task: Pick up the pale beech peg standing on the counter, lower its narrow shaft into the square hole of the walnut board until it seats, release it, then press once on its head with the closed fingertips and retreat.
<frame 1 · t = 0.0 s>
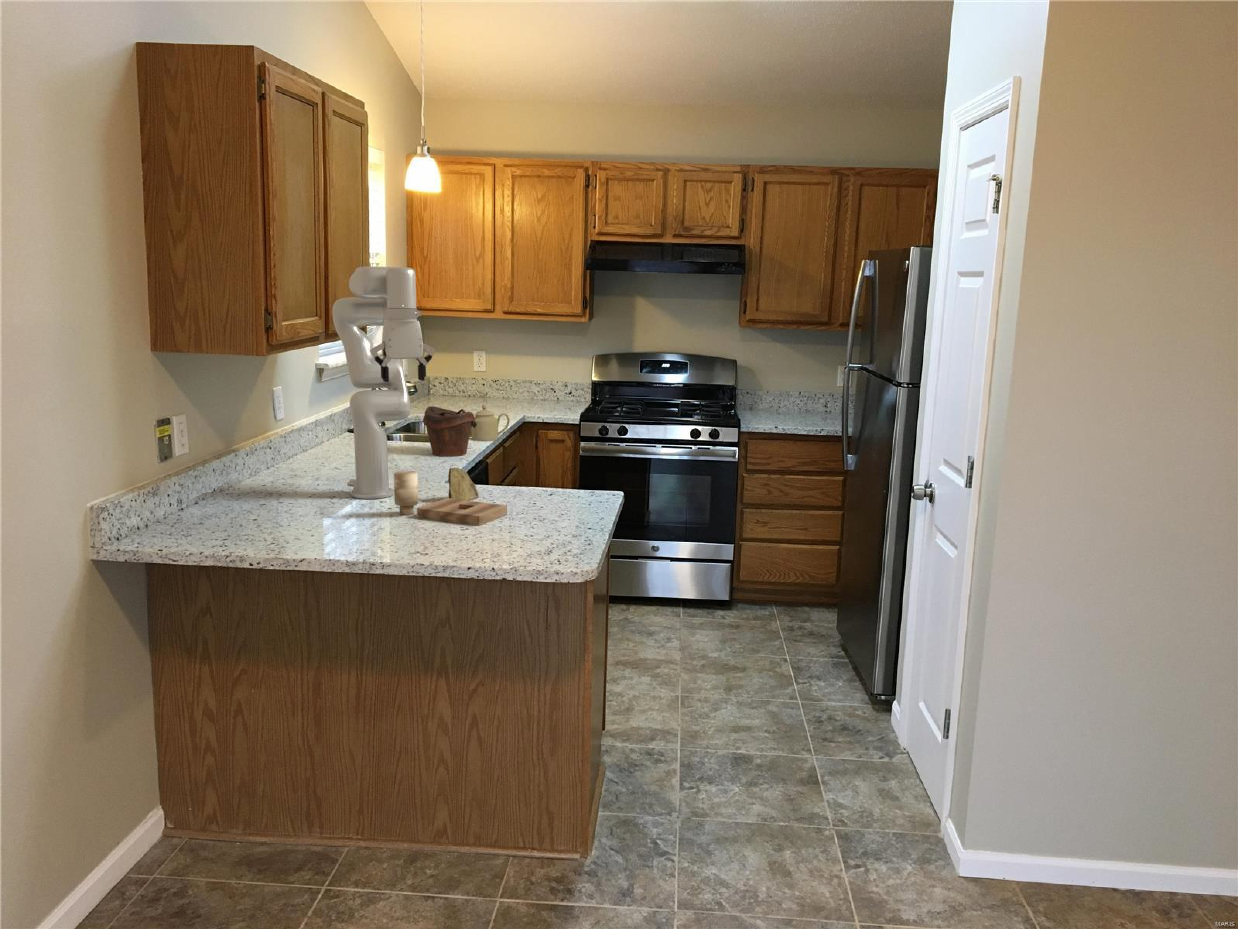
hand: (403, 380, 248), 37 cm above the countertop, tool pointing down, fingers open, 9 cm apart
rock: (464, 501, 277), on the countertop
sugar bowl: (489, 439, 392), on the countertop
brown tapered pot: (450, 454, 355), on the countertop
peg: (406, 513, 259), on the countertop
board: (462, 516, 257), on the countertop
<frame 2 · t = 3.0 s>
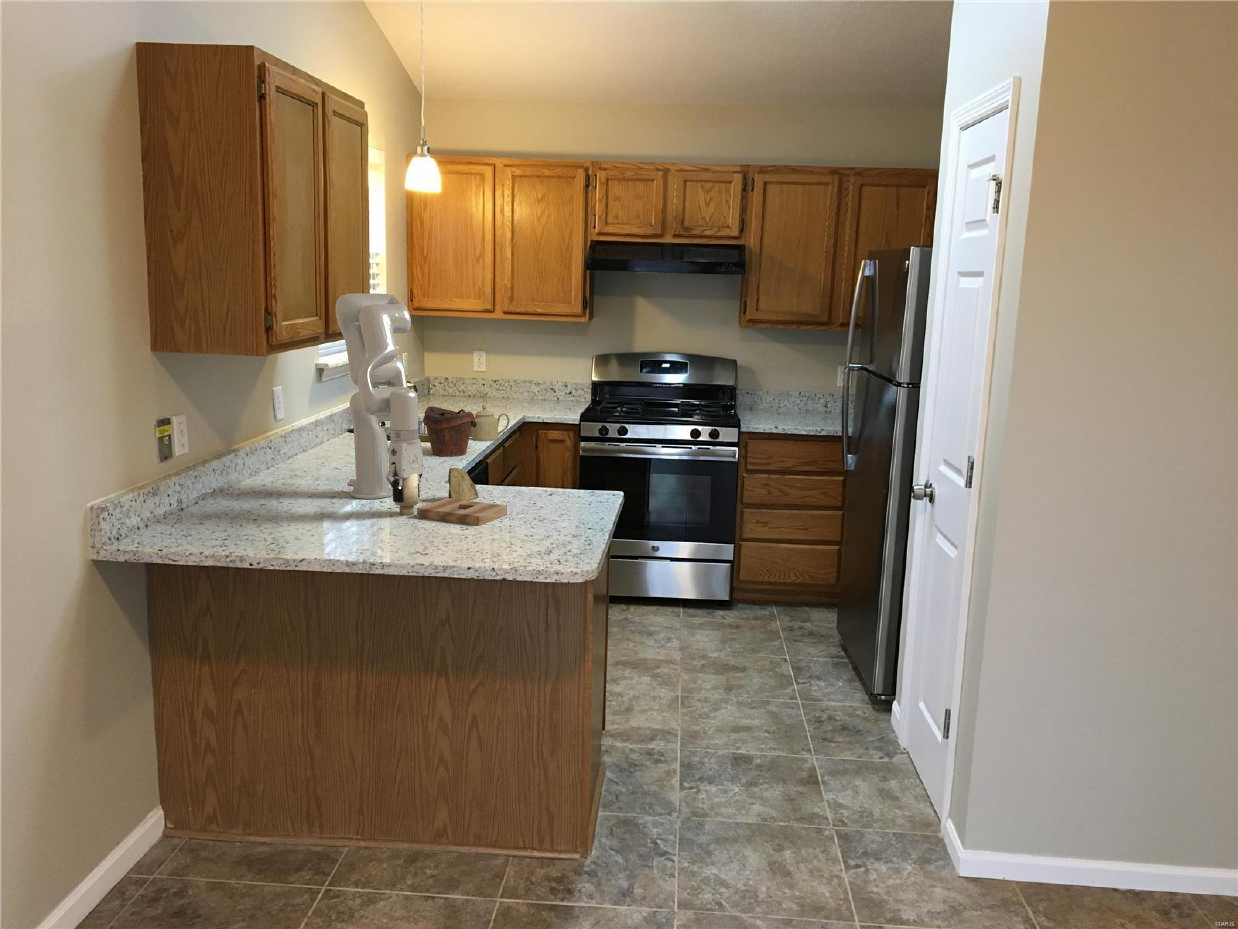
hand: (406, 499, 258), 4 cm above the countertop, tool pointing down, fingers closed on peg, 6 cm apart
peg: (406, 513, 259), on the countertop, touching gripper
everything else where it was.
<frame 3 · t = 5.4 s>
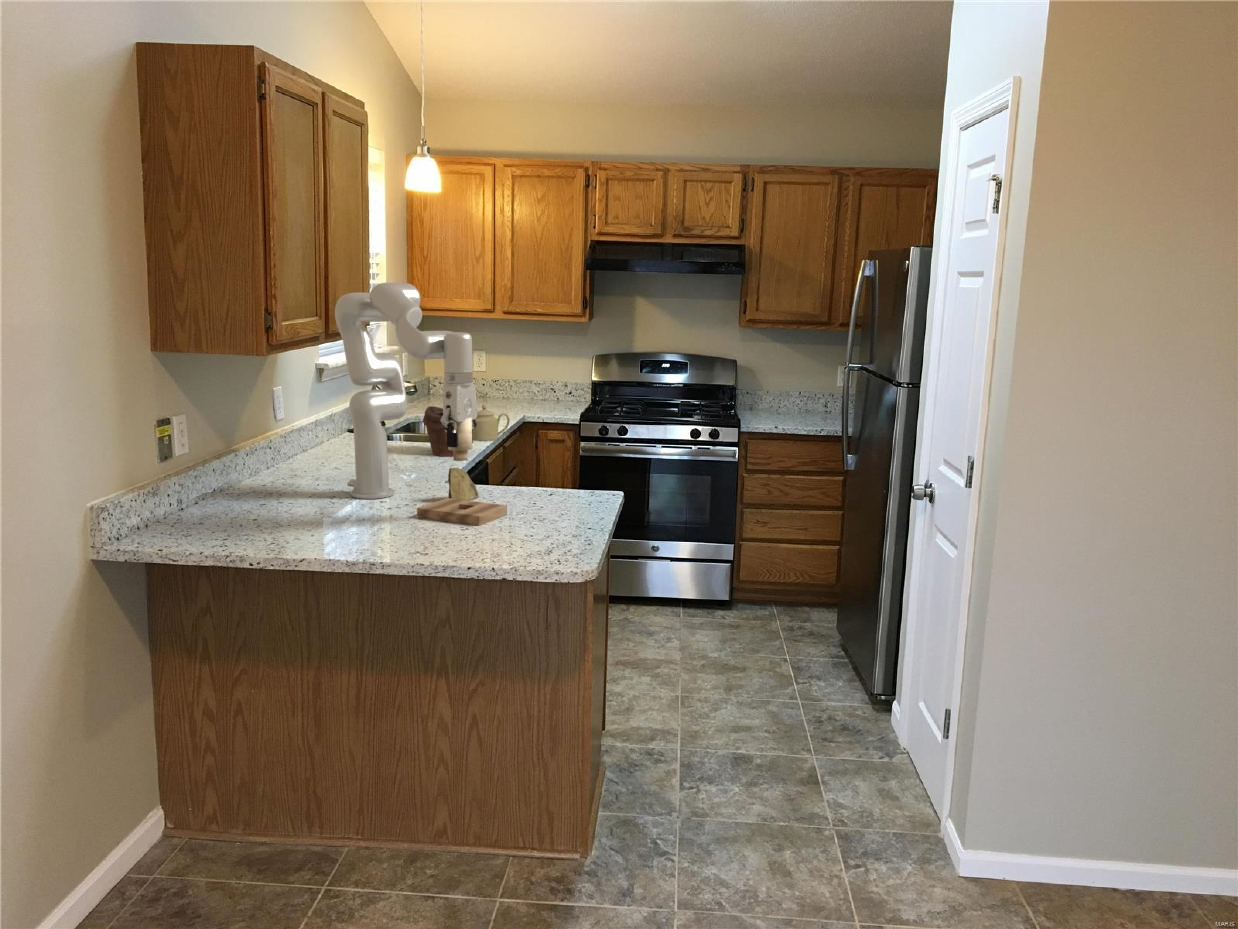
hand: (460, 444, 253), 20 cm above the countertop, tool pointing down, fingers closed on peg, 6 cm apart
peg: (460, 459, 254), point 16 cm above the countertop, touching gripper
everything else where it was.
when the fingers open (5 cm above the countertop, at t = 8.2 s): peg stays where it is, resting in board.
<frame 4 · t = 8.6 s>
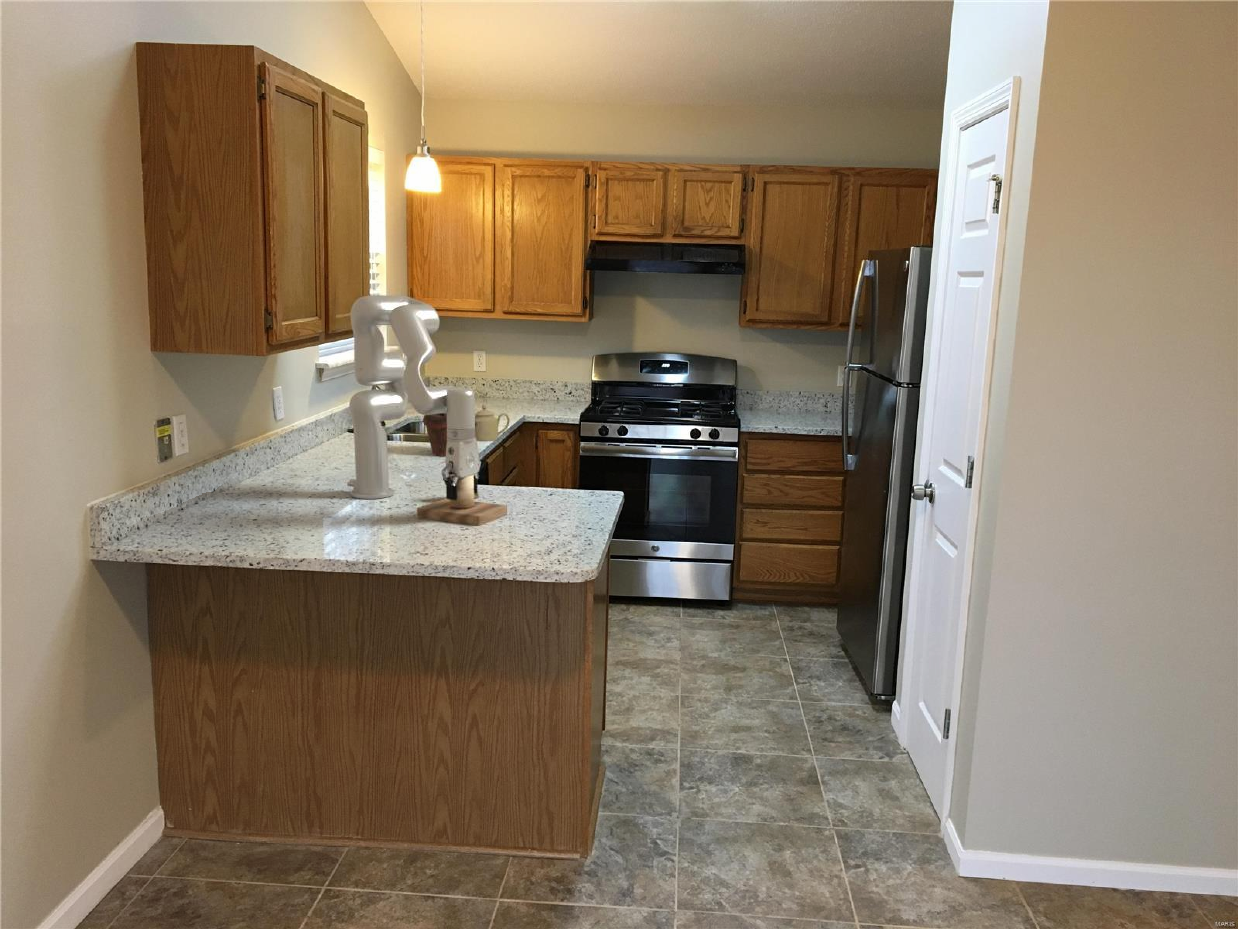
hand: (462, 496, 256), 6 cm above the countertop, tool pointing down, fingers open, 9 cm apart
peg: (462, 516, 257), resting in board
everything else where it was.
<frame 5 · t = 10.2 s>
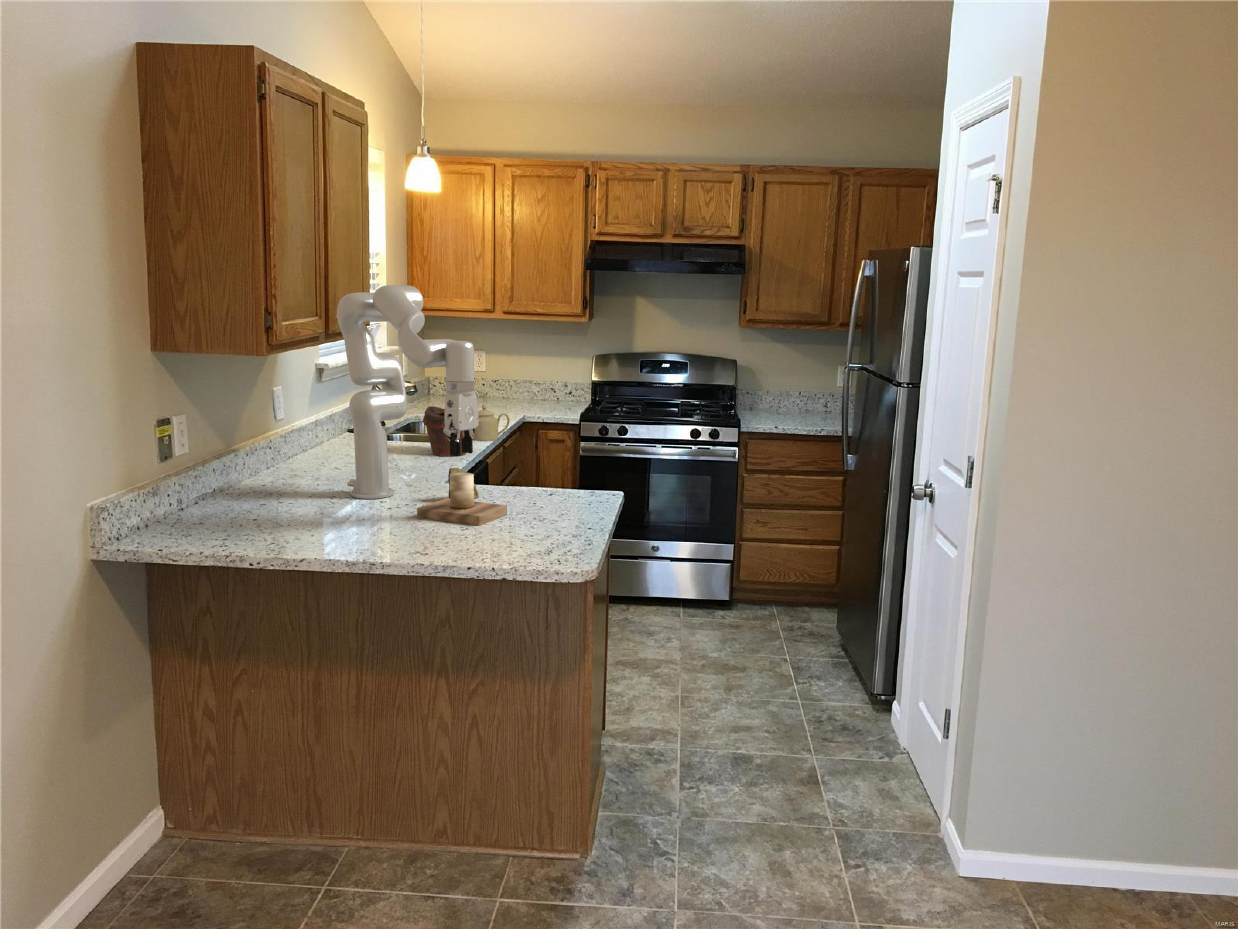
hand: (461, 453, 254), 17 cm above the countertop, tool pointing down, fingers open, 4 cm apart
nothing on the countertop moved.
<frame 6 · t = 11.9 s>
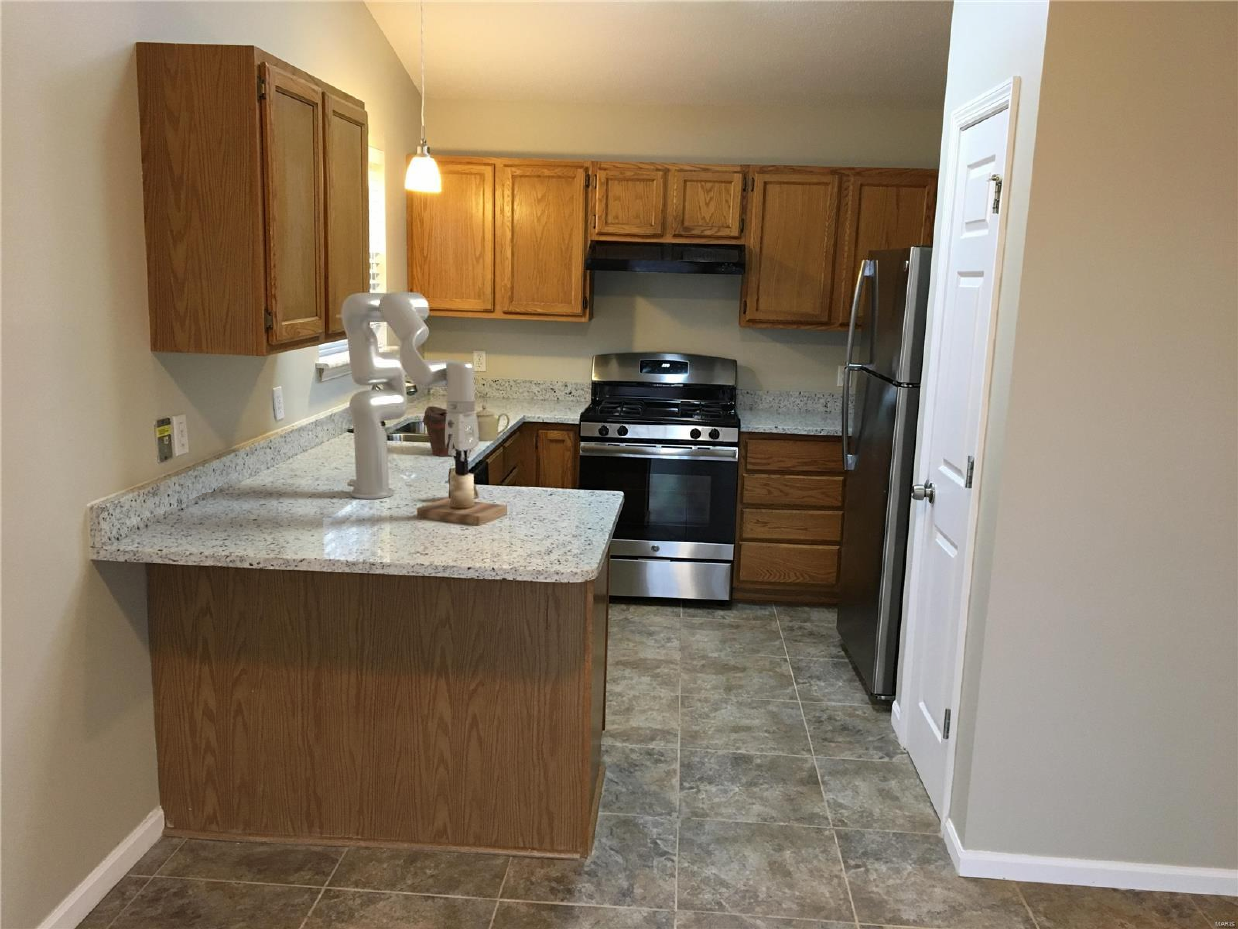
hand: (461, 474, 255), 12 cm above the countertop, tool pointing down, fingers closed
nothing on the countertop moved.
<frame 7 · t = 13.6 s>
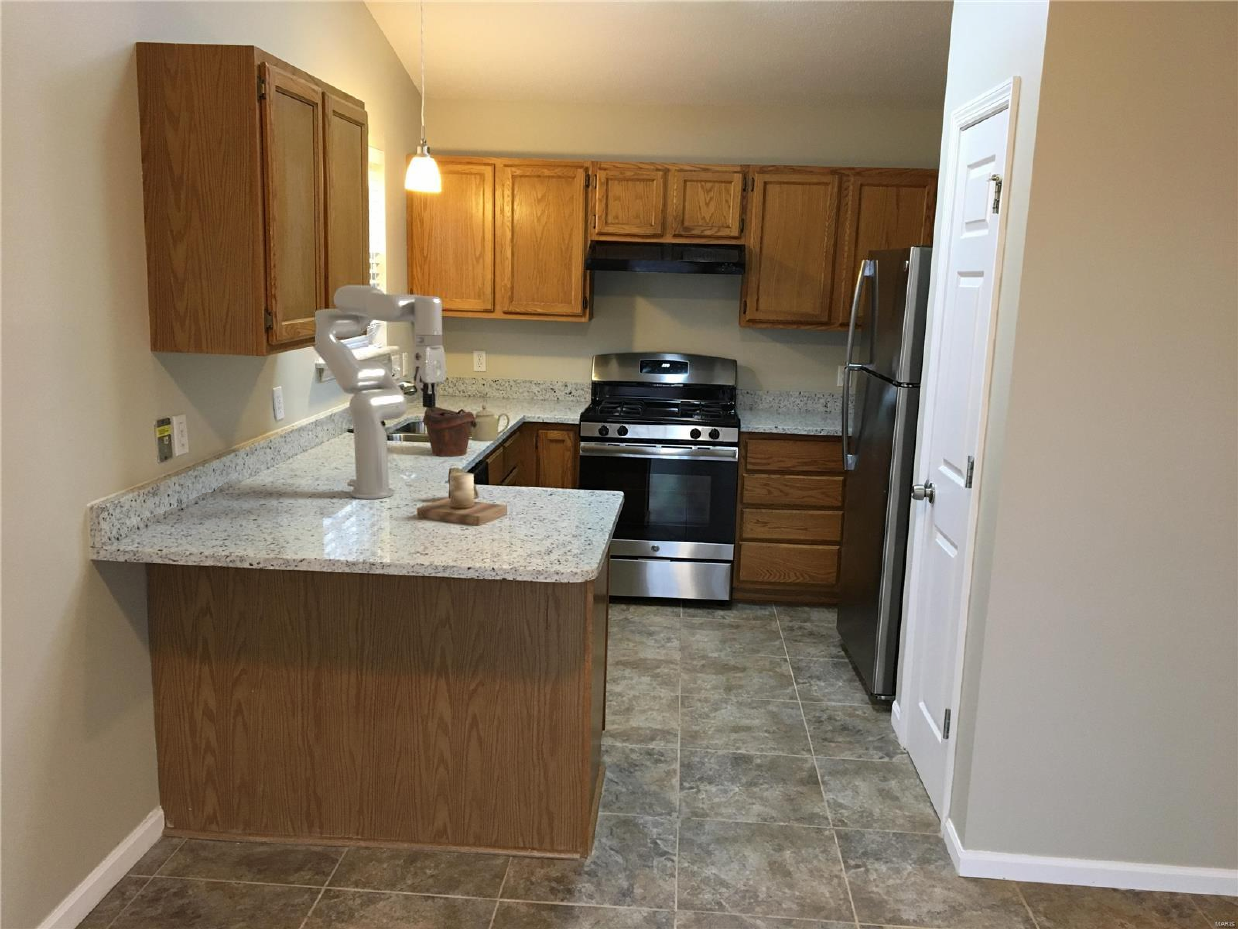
hand: (429, 407, 262), 29 cm above the countertop, tool pointing down, fingers closed
nothing on the countertop moved.
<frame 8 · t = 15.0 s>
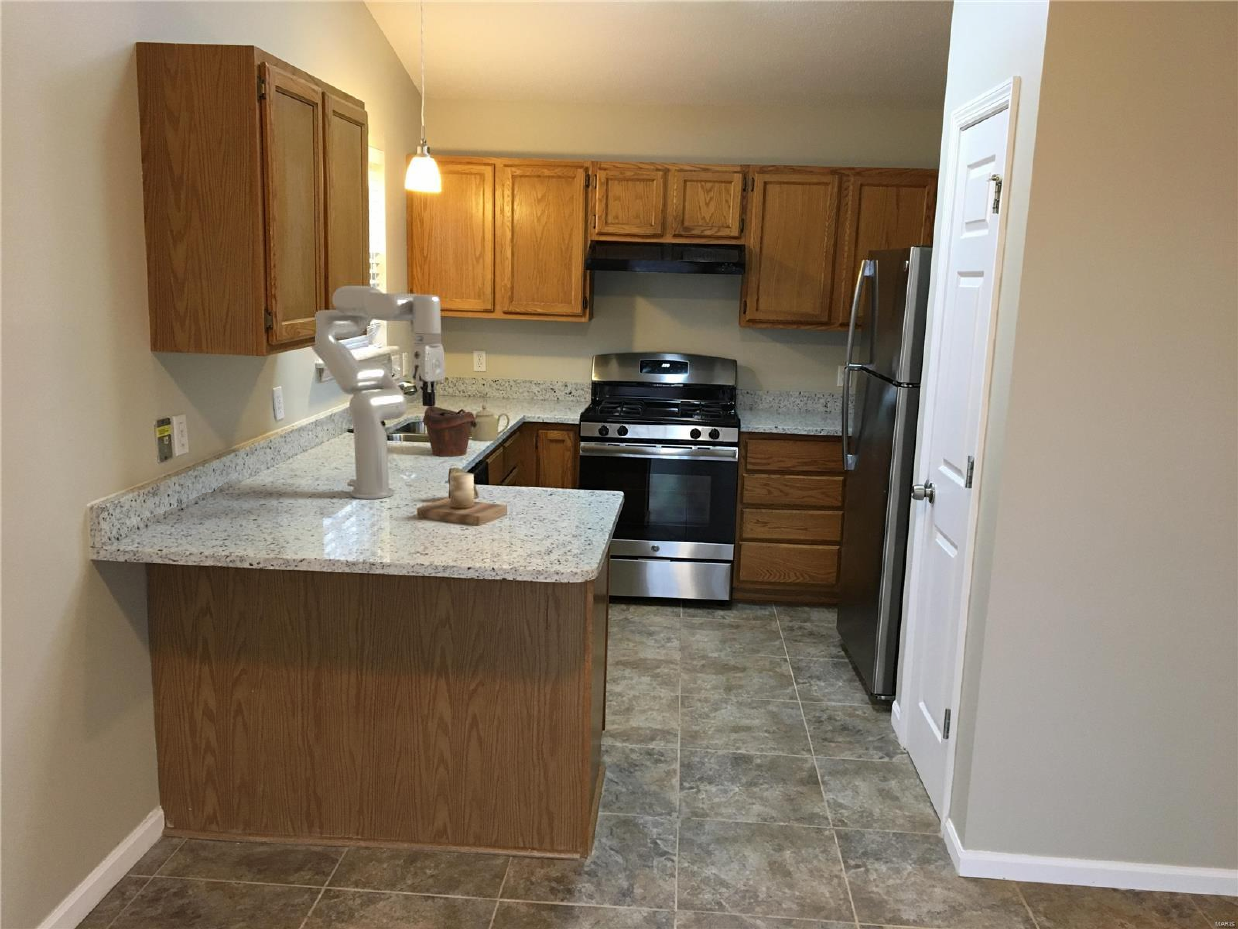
hand: (428, 405, 262), 29 cm above the countertop, tool pointing down, fingers closed
nothing on the countertop moved.
at the end: peg 0.0 cm off-centre on the board, point 0.0 cm above the board's base; peg tilted 0°; the gripper is holding nothing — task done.
